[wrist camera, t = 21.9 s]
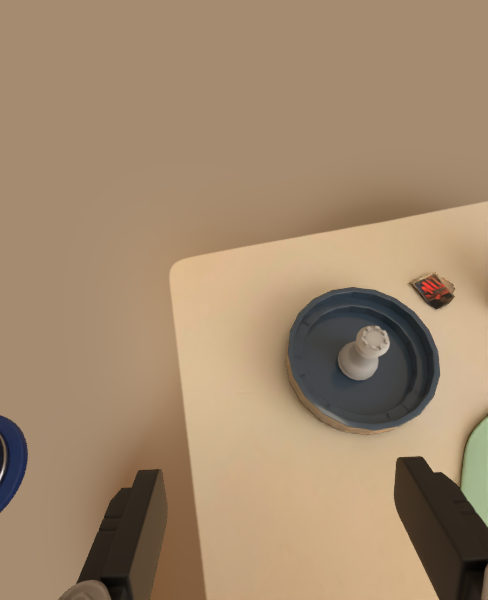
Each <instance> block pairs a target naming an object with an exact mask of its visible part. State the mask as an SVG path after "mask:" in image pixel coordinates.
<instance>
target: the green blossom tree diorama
mask: <svg viewBox="0 0 488 600" xmlns="http://www.w3.org/2000/svg"><path fill="white" fill-rule="evenodd" d="M460 490H461V491H462V492H463V494H464V495H465V496H466V498H467V501H469V502H470V503H471V505H472V506H473V508H474V509H475V511H476V513H478V514H479V516H480V517H481V519H482V520H483V521H484V523H485V524H486V525H487V527H488V416H487V417H486V418H485V419H484V420H483V421H482V422H481V423H480V424H479V425H478V426H477V427H476V428H475V429H474V430H473V432H472V434H471V435H470V437H469V439H468V442H467V445H466V448H465V453H464V460H463V469H462V478H461V487H460Z"/></svg>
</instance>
